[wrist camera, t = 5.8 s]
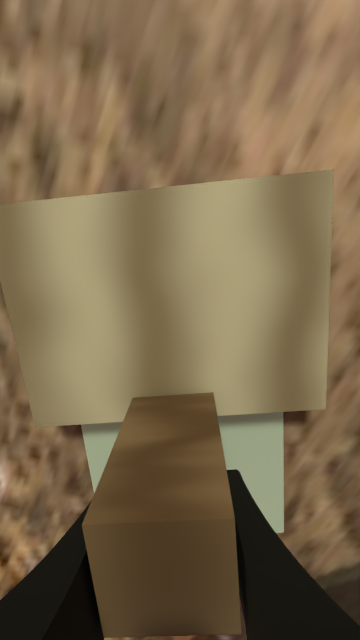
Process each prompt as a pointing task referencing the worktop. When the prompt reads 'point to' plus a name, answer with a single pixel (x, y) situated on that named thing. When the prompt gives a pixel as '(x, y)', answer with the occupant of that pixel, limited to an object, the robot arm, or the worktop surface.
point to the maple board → (172, 296)
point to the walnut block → (165, 524)
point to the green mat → (239, 452)
